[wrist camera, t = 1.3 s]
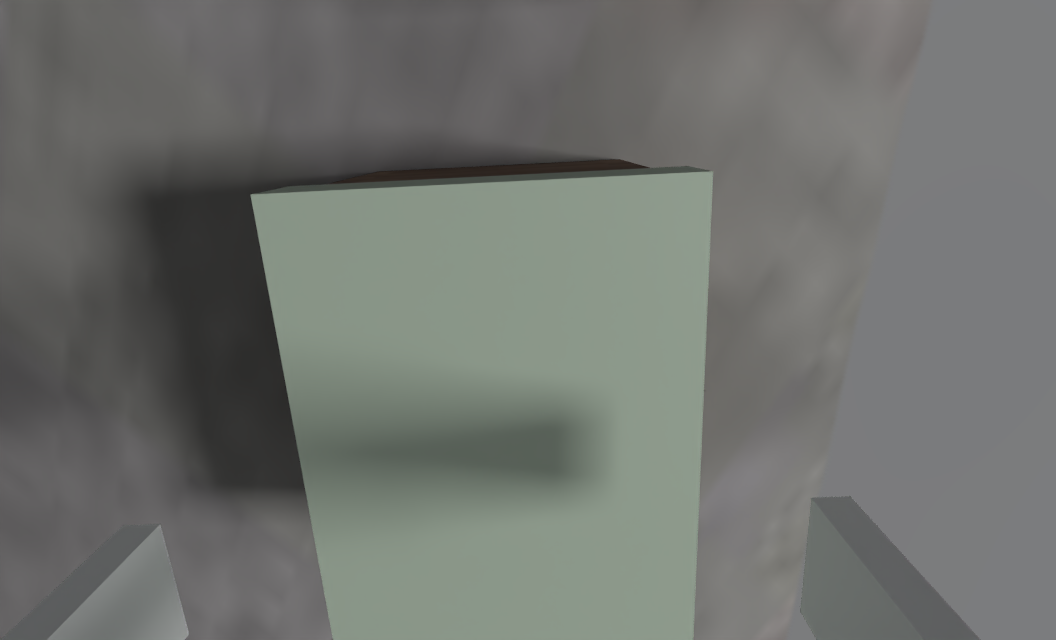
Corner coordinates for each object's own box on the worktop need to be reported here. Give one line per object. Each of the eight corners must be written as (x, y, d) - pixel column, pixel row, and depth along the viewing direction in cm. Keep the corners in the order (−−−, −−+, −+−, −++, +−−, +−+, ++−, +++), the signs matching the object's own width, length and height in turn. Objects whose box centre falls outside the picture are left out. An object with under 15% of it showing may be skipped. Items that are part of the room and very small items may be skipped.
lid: (303, 183, 17) (250, 194, 14) (678, 164, 17) (712, 171, 14) (365, 576, 22) (335, 654, 18) (668, 565, 21) (692, 642, 18)
